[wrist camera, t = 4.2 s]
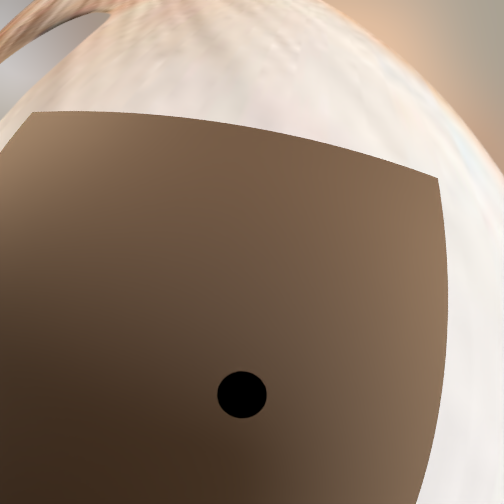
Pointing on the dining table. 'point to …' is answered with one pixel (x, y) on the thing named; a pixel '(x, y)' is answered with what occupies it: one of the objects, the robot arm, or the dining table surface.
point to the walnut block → (214, 316)
